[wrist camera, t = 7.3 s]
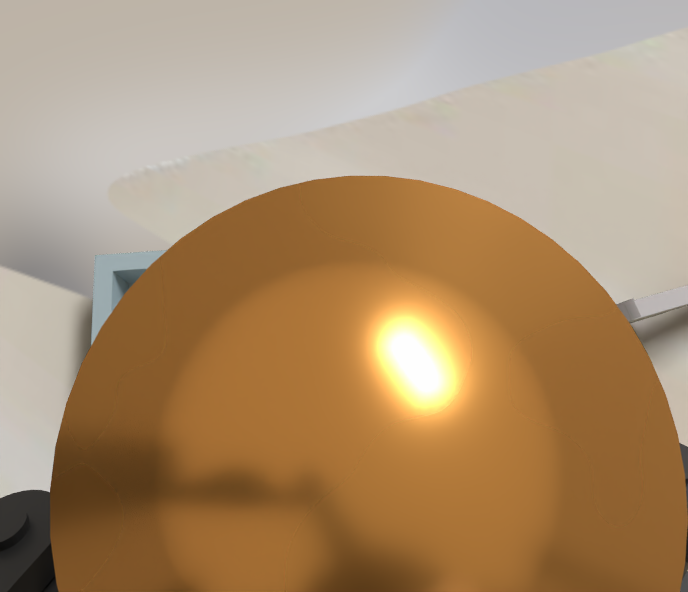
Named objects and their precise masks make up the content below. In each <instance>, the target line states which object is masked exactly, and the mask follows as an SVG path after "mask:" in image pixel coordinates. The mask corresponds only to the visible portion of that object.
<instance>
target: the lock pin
mask: <svg viewBox="0 0 688 592" xmlns="http://www.w3.org/2000/svg"><path fill="white" fill-rule="evenodd" d="M687 523H688V515H687V499H686V482H685V472H684V467H683V461H682V456H681V450H680V445H679V439H678V434H677V431H676V427H675V424H674V421H673V417H672V414H671V411H670V408H669V404H668V401H667V398H666V394H665V392H664V390H663V387H662V385H661V383H660V381H659V378H658V376H657V374H656V371H655V369H654V367H653V364H652V362H651V360H650V358H649V356H648V354H647V352H646V350H645V349H644V347H643V345H642V344H641V342H640V340H639V338H638V337H637V335H636V333H635V331H634V330H633V328H632V326H631V325H630V323H629V321H628V320H627V319H626V317H625V316H624V315H623V313H622V312H621V311H620V309H619V308H618V307H617V305H616V304H615V302H614V301H613V300H612V298H611V297H610V296H609V294H608V293H607V292H606V290H605V289H604V288H603V287H602V286H601V285H600V284H599V283H598V282H597V281H596V280H595V279H594V278H593V277H592V276H591V274H590V273H589V272H588V271H587V270H586V269H585V268H584V267H583V266H582V265H581V264H580V263H579V262H578V261H577V260H576V259H575V258H573V257H572V256H571V255H570V254H569V253H567V252H566V251H565V250H564V249H563V248H562V247H560V246H559V245H558V244H557V243H556V242H554V241H553V240H552V239H551V238H549V237H548V236H546V235H545V234H543V233H542V232H540V231H539V230H537V229H536V228H534V227H533V226H531V225H530V224H528V223H527V222H525V221H524V220H522V219H521V218H519V217H517V216H515V215H513V214H511V213H509V212H508V211H506V210H504V209H502V208H500V207H498V206H496V205H494V204H492V203H490V202H488V201H485V200H483V199H480V198H477V197H475V196H472V195H469V194H467V193H464V192H461V191H459V190H456V189H453V188H449V187H444V186H440V185H436V184H432V183H428V182H424V181H420V180H412V179H404V178H396V177H388V176H344V177H335V178H326V179H318V180H311V181H307V182H303V183H299V184H295V185H290V186H286V187H282V188H278V189H275V190H273V191H270V192H267V193H265V194H262V195H259V196H257V197H254V198H251V199H248V200H246V201H243V202H242V203H240V204H238V205H236V206H234V207H232V208H230V209H228V210H226V211H224V212H222V213H220V214H218V215H216V216H214V217H212V218H211V219H209V220H208V221H206V222H205V223H203V224H202V225H200V226H199V227H197V228H196V229H194V230H193V231H191V232H190V233H188V234H187V235H186V236H184V237H183V238H181V239H180V240H179V241H178V242H176V243H175V244H174V245H173V246H172V247H171V248H170V249H168V250H167V251H166V252H165V253H164V254H163V255H161V256H160V257H159V258H158V259H157V260H156V261H155V262H153V263H152V264H151V265H150V266H149V267H148V269H147V270H146V271H145V272H144V273H143V274H142V275H141V276H140V277H139V278H138V280H137V281H136V282H135V283H134V284H133V285H132V286H131V287H130V288H129V290H128V291H127V292H126V293H125V294H124V296H123V297H122V298H121V300H120V301H119V303H118V304H117V306H116V307H115V308H114V310H113V311H112V313H111V314H110V315H109V317H108V318H107V320H106V321H105V323H104V324H103V325H102V327H101V329H100V331H99V332H98V334H97V336H96V338H95V340H94V342H93V344H92V346H91V347H90V349H89V351H88V353H87V355H86V357H85V359H84V360H83V362H82V364H81V367H80V370H79V372H78V375H77V377H76V380H75V383H74V385H73V388H72V390H71V393H70V395H69V398H68V401H67V403H66V407H65V411H64V415H63V419H62V423H61V427H60V431H59V435H58V439H57V443H56V447H55V456H54V464H53V472H52V480H51V488H50V539H51V546H52V554H53V561H54V569H55V576H56V584H57V588H58V591H59V592H680V588H681V583H682V577H683V572H684V567H685V557H686V540H687Z"/></svg>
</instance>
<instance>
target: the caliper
mask: <svg viewBox="0 0 688 592" xmlns="http://www.w3.org/2000/svg"><path fill="white" fill-rule="evenodd" d="M616 305H617V307H618V308H619V309H620V311H621V312H622V313H623V315H624V316H625V317H626V319H627V320H628V321H629V323H632V322H636V321H639V320H642V319H646V318H649V317H653V316H656V315H659V314H662V313H665V312H668V311H671V310H674V309H678V308H681V307H684V306H688V285H686V286H683V287H679V288H676V289H672V290H669V291H665V292H661V293H658V294H654V295H651V296H647V297H644V298H640V299H636V300H634V299H630V300H627V301H624V302H622V303H619V304H616Z"/></svg>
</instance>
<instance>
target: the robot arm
mask: <svg viewBox="0 0 688 592" xmlns="http://www.w3.org/2000/svg"><path fill="white" fill-rule="evenodd" d="M679 445H680V450H681V456H682V461H683V467H684V472H685V482H686V499H687V515H688V447H687V446H685V445H682V444H680V443H679ZM687 570H688V523H687V540H686V557H685V567H684V572H683V577H682V583H681V588H680V592H688V571H687ZM0 592H59V591H58V588H57V584H56V576H55V569H54V561H53V554H52V546H51V539H50V492H47V491H42V490H27V491H21V492H17V493H13V494H10V495H7V496H5V497H3V498H0Z"/></svg>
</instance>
